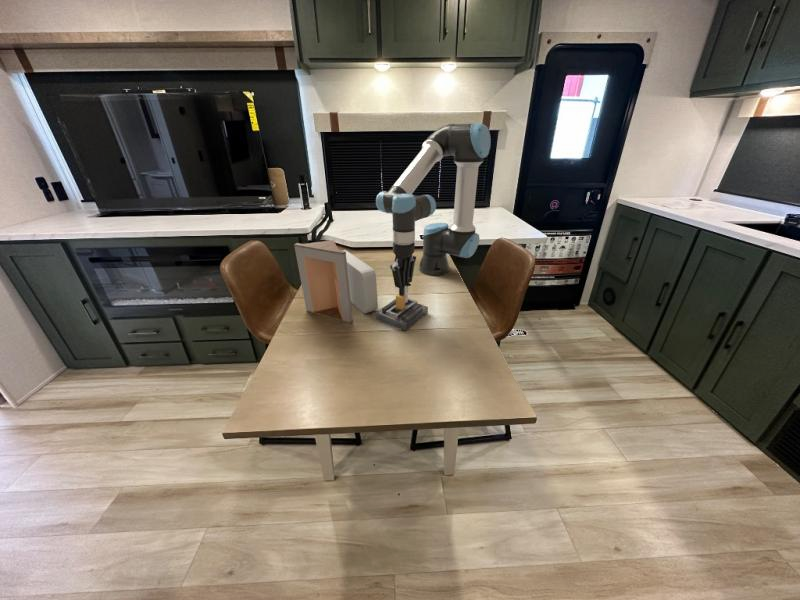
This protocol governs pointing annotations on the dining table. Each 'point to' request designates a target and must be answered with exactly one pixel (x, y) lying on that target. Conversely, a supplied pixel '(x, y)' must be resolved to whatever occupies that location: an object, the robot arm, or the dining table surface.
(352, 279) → the rounded white slab
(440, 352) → the dining table surface
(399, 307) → the breaker lever
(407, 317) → the grey slider track plate
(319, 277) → the cabinet
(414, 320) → the frame
